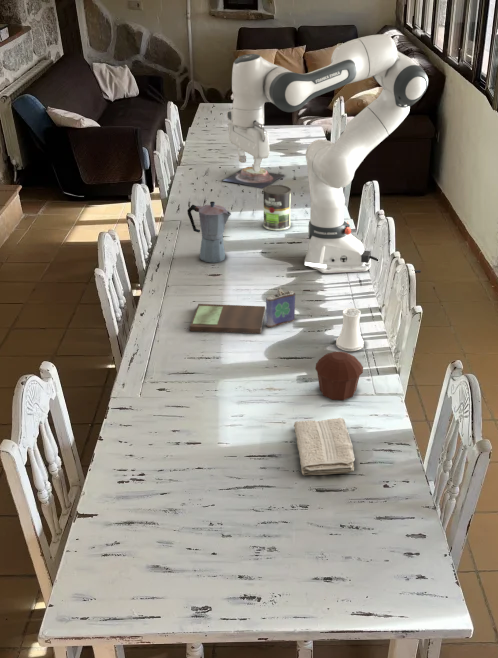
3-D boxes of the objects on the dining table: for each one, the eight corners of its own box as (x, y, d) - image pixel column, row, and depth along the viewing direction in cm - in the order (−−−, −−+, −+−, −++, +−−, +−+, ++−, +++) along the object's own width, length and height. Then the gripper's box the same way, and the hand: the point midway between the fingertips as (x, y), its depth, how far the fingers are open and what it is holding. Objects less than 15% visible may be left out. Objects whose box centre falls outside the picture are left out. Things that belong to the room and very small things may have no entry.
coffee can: (284, 232, 269) (284, 195, 261) (259, 228, 272) (258, 191, 264) (294, 223, 277) (295, 186, 269) (270, 219, 280) (269, 183, 272)
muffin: (308, 397, 178) (309, 362, 172) (322, 374, 187) (323, 340, 181) (354, 407, 175) (357, 372, 169) (367, 383, 183) (369, 349, 178)
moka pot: (229, 265, 243) (226, 208, 232) (185, 261, 245) (180, 204, 235) (236, 254, 251) (234, 198, 240) (194, 250, 253) (190, 194, 243)
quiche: (221, 181, 318) (221, 172, 316) (243, 169, 333) (243, 160, 331) (264, 188, 311) (264, 179, 308) (284, 175, 326) (284, 166, 324)
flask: (268, 328, 207) (268, 294, 201) (263, 324, 209) (263, 290, 203) (296, 320, 211) (297, 287, 205) (291, 316, 213) (291, 283, 207)
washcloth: (301, 478, 152) (302, 467, 151) (292, 427, 167) (292, 416, 166) (357, 474, 154) (358, 463, 152) (343, 424, 169) (343, 413, 167)
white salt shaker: (348, 334, 204) (350, 303, 199) (369, 344, 200) (371, 312, 194) (330, 344, 200) (331, 311, 194) (350, 354, 195) (352, 321, 190)
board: (265, 310, 216) (265, 305, 215) (260, 333, 204) (260, 328, 203) (198, 308, 217) (198, 303, 216) (190, 331, 205) (189, 326, 204)
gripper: (275, 124, 198) (274, 174, 205) (243, 108, 213) (244, 156, 220) (254, 126, 195) (254, 177, 203) (223, 110, 210) (225, 158, 218)
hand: (249, 166), depth 212 cm, fingers open, 8 cm apart
